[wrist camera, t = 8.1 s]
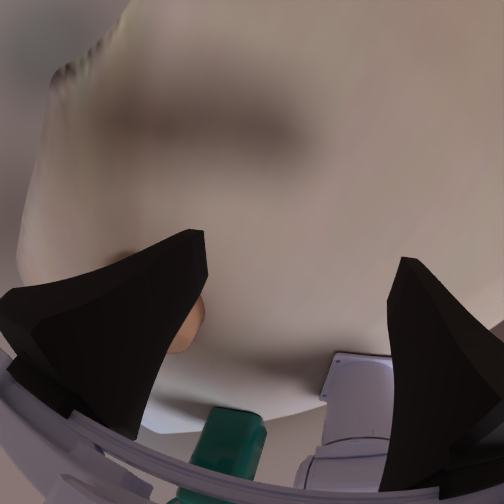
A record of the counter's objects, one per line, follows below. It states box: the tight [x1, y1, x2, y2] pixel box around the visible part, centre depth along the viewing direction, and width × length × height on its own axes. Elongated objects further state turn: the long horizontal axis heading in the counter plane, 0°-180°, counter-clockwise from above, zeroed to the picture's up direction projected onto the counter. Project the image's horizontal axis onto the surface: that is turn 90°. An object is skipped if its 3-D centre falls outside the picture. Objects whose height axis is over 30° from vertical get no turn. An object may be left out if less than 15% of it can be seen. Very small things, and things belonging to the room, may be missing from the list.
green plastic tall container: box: [167, 408, 267, 504], centre depth 31 cm, size 10×8×22 cm
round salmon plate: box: [167, 296, 205, 354], centre depth 27 cm, size 10×10×4 cm
